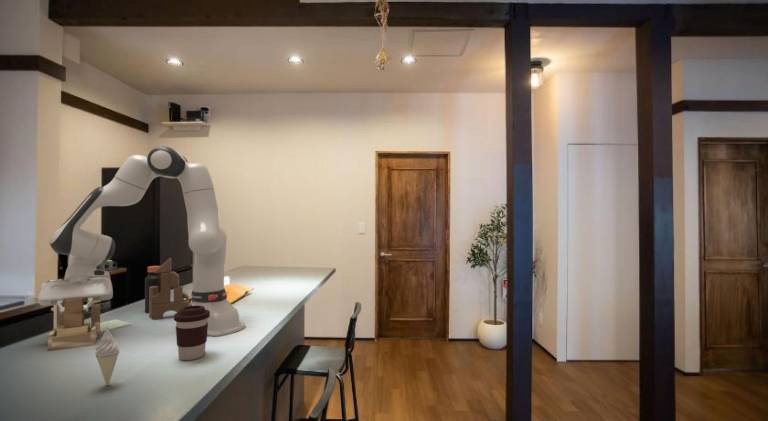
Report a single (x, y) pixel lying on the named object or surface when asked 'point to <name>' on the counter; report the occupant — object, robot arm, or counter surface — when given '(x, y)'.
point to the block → (73, 312)
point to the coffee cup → (191, 331)
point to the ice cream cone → (107, 355)
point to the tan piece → (75, 332)
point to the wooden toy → (166, 293)
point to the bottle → (151, 284)
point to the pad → (112, 325)
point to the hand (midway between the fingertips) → (74, 312)
